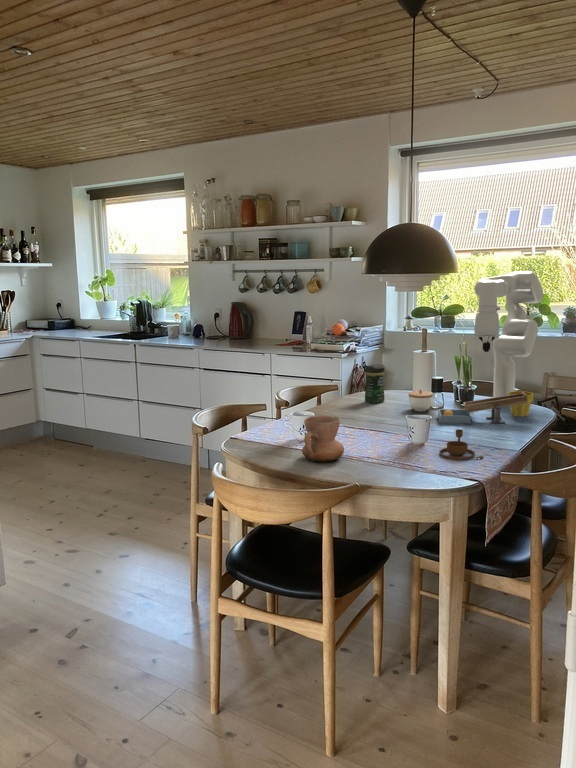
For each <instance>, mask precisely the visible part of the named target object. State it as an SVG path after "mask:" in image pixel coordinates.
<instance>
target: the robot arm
mask: <svg viewBox="0 0 576 768" xmlns="http://www.w3.org/2000/svg"><path fill="white" fill-rule="evenodd" d="M474 293H475V295H476V296H477V297H478V312H476V314H475V319H474V320H475V321H474V330H473V331H474V336H473V338H474V339H476V340H479V341H481V342H482V351H483V352H484V353H489V352H490V351H491V343H492V350H493V351H492V352H493V358H494V363H493V364H494V365H493V367H494V369H493V390H492V391H493V393H492V396H491V397H490V398H494V397H500V396H506V395H508V393H509V392H512V391H515V389H516V388H515V387H516V386H515V384H516V363H515V361H514V359H513V357H517V358H521V357H522V358H527V357H529V356H530V355H531V353H532V351H533V348H534V345H535V343H536V339H537V336H538V332H539V325H538V323H537V321H536V320H535V319H531V318H527V313H526V311H525V309H524V308H523V306H521V304H539V303H541V301H543V299H544V289H543V286H542V284H541V281H540V279H539V277H538V275H537V274H536V273H535V272H533V271H529V270H528V271H512V272H508V273H506V274H502V275H496V276H491V277H486V278H485V277H484V278H481V279H479V280H478V281H477V282H476V283H475V285H474ZM504 297H505V301H506V308H507V314H506V318H505V320H504V323H503V325H502V330H501V333H502V335H500V318H499V312H498V311H501V306H498V298H504ZM486 337H487V340H486Z"/></svg>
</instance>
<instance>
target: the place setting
mask: <svg viewBox="0 0 576 768" xmlns="http://www.w3.org/2000/svg"><path fill="white" fill-rule="evenodd" d="M463 433H464V430H463V429H459V428H458V429H455V436H456V438H457V440H451V441H448V442H447V443H446V446H443V448H442V449H440V450H439V452H438V453H439V455H440V457H442V458H444V459H446V460H450V459H451V460H452V461H467V460H468V459H469V460H472V459H474V457H475V456H476V452H475V451H473V450H472V449H469V447H468V446H469V444H468V442H466V441H461V439H462V437H463V436H464V435H463ZM467 452H468V453H467ZM444 453H448V454H449V455H446V454H444ZM469 453H470V456H468V455H467V456H464V455H465V454H469ZM471 454H472V455H471ZM453 456H454V457H453ZM461 456H462V457H461ZM471 458H472V459H471ZM478 458H481V459H480V460H483V459H484V456H483V455H481V456H480V455H479V456H477V457H476V459H475V460H476V461H478Z"/></svg>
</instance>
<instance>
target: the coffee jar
mask: <svg viewBox="0 0 576 768" xmlns="http://www.w3.org/2000/svg"><path fill="white" fill-rule="evenodd" d="M385 368H386V367H385V366H384V364H379V363H376V364H374V363H373V364H370V365H367V366H365V370H364V372H365V373H364V374H365V389H364V390H365V392H364V393H365V394H364V402H365V403H367V402H369V403H368V404H380V403H383V402H382V401H384V402H385V389H384V387H385V385H384V384H385V383H384V379H385V378H384V377H385V373H386V372H385V370H386V369H385ZM379 402H380V403H379Z"/></svg>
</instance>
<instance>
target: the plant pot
mask: <svg viewBox="0 0 576 768" xmlns="http://www.w3.org/2000/svg"><path fill="white" fill-rule="evenodd" d="M522 392H524V393H525V394H526V396H527V401H528V403H525V404H519V405H513V406H509V408H510V413H511V415H512V416H513V415H514V417H518V416H519V417H520V416H521V417H523V418H524V416H525V417H528V416H529V413H530V408H531V406H532V405H531V404H532V402H533V401H534V393H533V392H530V391H523V390H514V391H512V392H509V393H508V395H513V394H519V393H522Z"/></svg>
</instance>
